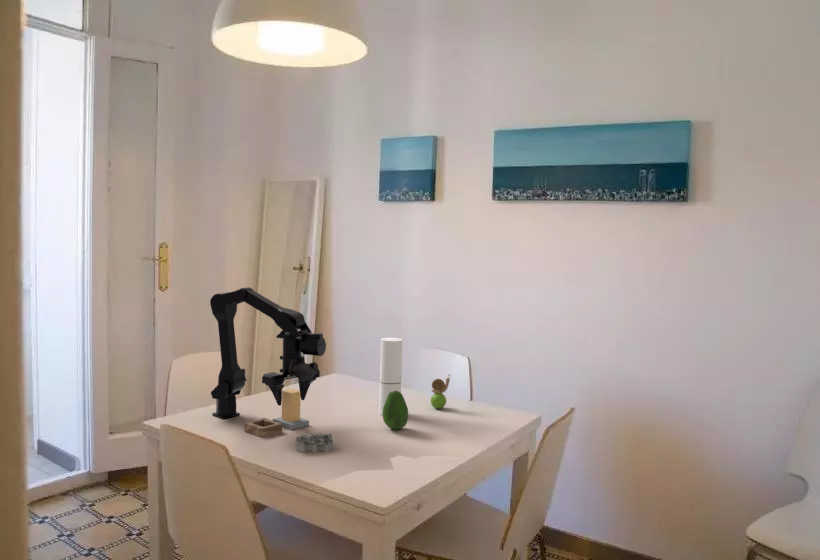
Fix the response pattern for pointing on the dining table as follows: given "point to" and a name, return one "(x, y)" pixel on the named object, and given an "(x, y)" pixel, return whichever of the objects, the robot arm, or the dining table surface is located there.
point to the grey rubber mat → (292, 423)
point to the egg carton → (314, 442)
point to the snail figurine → (439, 393)
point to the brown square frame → (263, 427)
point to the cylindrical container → (390, 368)
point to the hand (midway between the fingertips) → (291, 402)
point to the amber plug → (291, 405)
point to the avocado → (395, 411)
